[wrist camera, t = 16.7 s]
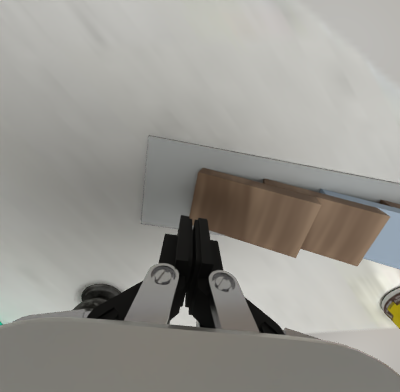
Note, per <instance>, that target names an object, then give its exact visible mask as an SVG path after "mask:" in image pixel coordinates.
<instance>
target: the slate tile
mask: <svg viewBox="0 0 400 392" xmlns="http://www.w3.org/2000/svg"><path fill="white" fill-rule="evenodd" d="M319 193H322V194H326V195H330V196H334V197H338V198H341V199H345V200H349V201H353V202H357V203H361V204H364V205H368V206H372V207H376V208H378V209H380V210H381V211H383V212H384V213H386V214H387V215H389V216H390V218H389V220H388V221H387V223H386V224H385V226H384V227H383V229H382V230H381V232H380V233H379V235H378V236H377V238H376V239H375V241H374V242H373V244H372V245H371V247H370V248H369V250H368V251H367V253H366V254H365V256H364V257H363V258H364V259H367V260H371V261H374V262H377V263H380V264H384V265H387V266H390V267H394V268H397V269H400V209H399V208H395V207H391V206H387V205H383V204H379V203H375V202H371V201H367V200H363V199H360V198H356V197H352V196H348V195H344V194H340V193H336V192H332V191H328V190H324V189H320V192H319Z"/></svg>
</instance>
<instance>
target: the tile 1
mask: <svg viewBox="0 0 400 392" xmlns="http://www.w3.org/2000/svg"><path fill="white" fill-rule="evenodd" d="M320 207H321V203H320V202H319V201H318V200H317V199H316V197H313V196H310V195H306V194H302V193H298V192H294V191H291V190H287V189H283V188H279V187H275V186H271V185H268V184H264V183H260V182H256V181H252V180H248V179H245V178H241V177H237V176H233V175H229V174H226V173H222V172H218V171H214V170H210V169H206V168H202V169H201V170H200V171H199V172H198V175H197V180H196V185H195V190H194V195H193V200H192V205H191V210H190V215H189V219H192V225H194V221H195V220H198V218H204V219H207V220H208V228H209V231H213V232H216V233H219V234H222V235H225V236H228V237H232V238H235V239H238V240H241V241H244V242H247V243H250V244H254V245H257V246H260V247H263V248H266V249H269V250H272V251H276V252H279V253H282V254H285V255H288V256H291V257H294V258H296V256H297V254H298V252H299V250H300V248H301V246H302V244H303V242H304V240H305V238H306V236H307V234H308V232H309V230H310V228H311V226H312V224H313V222H314V220H315V218H316V216H317V214H318V212H319V210H320Z"/></svg>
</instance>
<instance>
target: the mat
mask: <svg viewBox="0 0 400 392" xmlns="http://www.w3.org/2000/svg"><path fill="white" fill-rule="evenodd" d="M202 168H206V169H210V170H214V171H218V172H222V173H226V174H229V175H233V176H237V177H241V178H245V179H248V180H252V181H256V182H260V183H263V180H264V178H265V179H269V180H272V181H276V182H280V183H284V184H288V185H292V186H295V187H299V188H303V189H307V190H311V191H315V192H318V193H319V192H320V189H324V190H328V191H332V192H336V193H340V194H344V195H348V196H352V197H356V198H360V199H363V200H367V201H371V202H375V203H379V202H380V200H384V201H388V202H392V203H396V204H399V205H400V184H399V183H394V182H388V181H383V180H378V179H373V178H368V177H363V176H357V175H352V174H347V173H342V172H337V171H331V170H326V169H321V168H316V167H311V166H305V165H300V164H295V163H290V162H285V161H280V160H274V159H269V158H264V157H259V156H254V155H248V154H243V153H238V152H233V151H228V150H223V149H217V148H212V147H207V146H202V145H197V144H191V143H186V142H181V141H176V140H171V139H166V138H160V137H155V136H150V135H149V136H148V147H147V159H146V170H145V182H144V194H143V205H142V217H141V224H147V225H154V226H161V227H168V228H175V229H178V228H179V223H180V217H181V215H184V216H189V215H190V210H191V205H192V200H193V195H194V190H195V185H196V180H197V175H198V172H199V171H200V170H201V169H202ZM193 226H194V225H192V230H193ZM209 233H210V234H217V235H222V234H219V233H216V232H213V231H209ZM224 236H225V235H224Z"/></svg>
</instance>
